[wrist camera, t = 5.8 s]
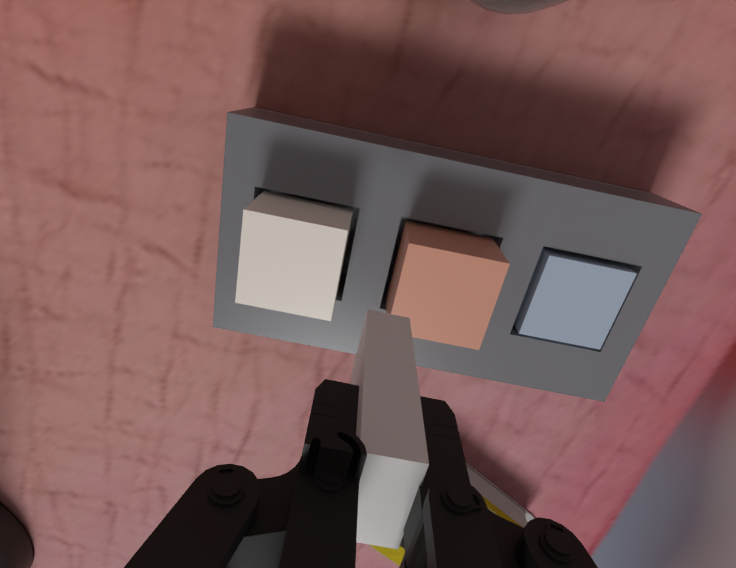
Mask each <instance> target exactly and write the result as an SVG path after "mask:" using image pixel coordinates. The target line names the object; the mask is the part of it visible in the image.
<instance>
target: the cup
mask: <svg viewBox="0 0 736 568" xmlns="http://www.w3.org/2000/svg"><path fill="white" fill-rule="evenodd" d="M469 1H470V2H472V3H474V4H475V5H477V6H479V7H481V8H483V9H485V10H489V11H493V12H497V13H501V14H527V13H531V12H535V11H539V10H542V9H546V8H549V7H553V6H556V5H559V4H562V3H564V2H567V1H569V0H469Z"/></svg>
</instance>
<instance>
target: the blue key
mask: <svg viewBox="0 0 736 568" xmlns="http://www.w3.org/2000/svg"><path fill="white" fill-rule="evenodd" d="M636 275H637V273H636V272H634V271H633V270H632V269H630V268H629V267H628V266H626V265H625V264H624V263H622V262H617V261H613V260H608V259H603V258H598V257H593V256H588V255H584V254H579V253H574V252H569V251H564V250H559V249H555V248H550V247H545V246H543V249H542V251H541V254H540V257H539V259H538V262H537V264H536V267H535V270H534V272H533V275H532V277H531V280H530V283H529V285H528V288H527V291H526V293H525V296H524V298H523V301H522V304H521V306H520V309H519V311H518V314H517V317H516V319H515V322H514V326H515V327H516V329H517V331H518V333H519V334H523V335H528V336H533V337H538V338H544V339H549V340H554V341H559V342H564V343H569V344H574V345H579V346H584V347H589V348H594V349H599V350H600V349H601V347H602V345H603V343H604V341H605V338H606V336H607V334H608V332H609V330H610V328H611V326H612V324H613V322H614V320H615V318H616V316H617V314H618V312H619V310H620V308H621V306H622V304H623V301H624V299H625V297H626V295H627V293H628V291H629V289H630V287H631V285H632V283H633V281H634V279H635V277H636Z"/></svg>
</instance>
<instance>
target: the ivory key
mask: <svg viewBox="0 0 736 568" xmlns="http://www.w3.org/2000/svg"><path fill="white" fill-rule="evenodd" d="M353 210H354V209H350V208H345V207H340V206H336V205H331V204H326V203H321V202H316V201H311V200H306V199H302V198H297V197H292V196H287V195H282V194H277V193H273V192H268V191H263V192H262V193H261V194H260V195H259V196H258V197H257V198H256V199H254V200H253V201H252V202H251V203H250V204H249V205H248V206H247V207H245V208H244V209H243V219H242V231H241V242H240V253H239V264H238V275H237V287H236V298H235V303H239V304H244V305H250V306H255V307H260V308H265V309H270V310H275V311H280V312H286V313H291V314H296V315H301V316H306V317H311V318H316V319H322V320H327V321H331V318H332V314H333V310H334V305H335V301H336V297H337V292H338V288H339V282H340V277H341V272H342V267H343V262H344V256H345V251H346V246H347V241H348V236H349V230H350V225H351V220H352V215H353Z"/></svg>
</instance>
